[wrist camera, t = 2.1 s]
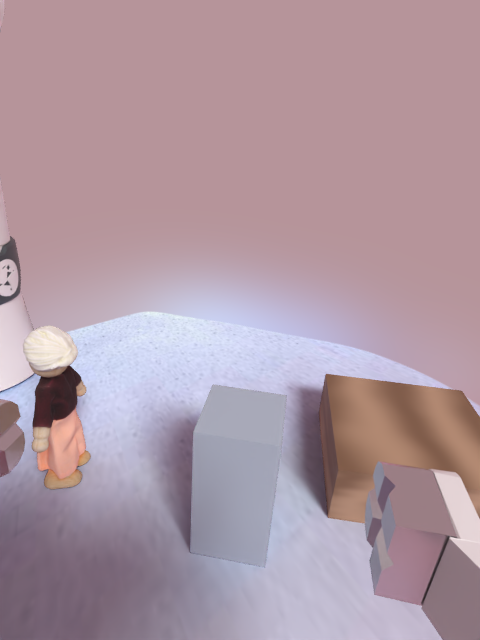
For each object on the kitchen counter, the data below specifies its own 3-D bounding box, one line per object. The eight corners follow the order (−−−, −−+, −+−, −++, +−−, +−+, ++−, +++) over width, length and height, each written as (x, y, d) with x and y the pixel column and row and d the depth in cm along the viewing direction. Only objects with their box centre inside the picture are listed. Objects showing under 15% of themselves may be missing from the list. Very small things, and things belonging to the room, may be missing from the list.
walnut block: (327, 520, 30) (338, 469, 28) (318, 415, 42) (325, 373, 40) (509, 549, 29) (534, 498, 27) (447, 432, 41) (461, 390, 39)
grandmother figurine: (51, 442, 35) (30, 308, 30) (97, 438, 36) (84, 307, 31) (26, 516, 28) (-8, 359, 23) (83, 510, 29) (64, 356, 24)
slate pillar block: (190, 552, 27) (193, 431, 23) (207, 493, 31) (212, 384, 27) (264, 567, 26) (281, 446, 22) (271, 505, 31) (286, 395, 27)
